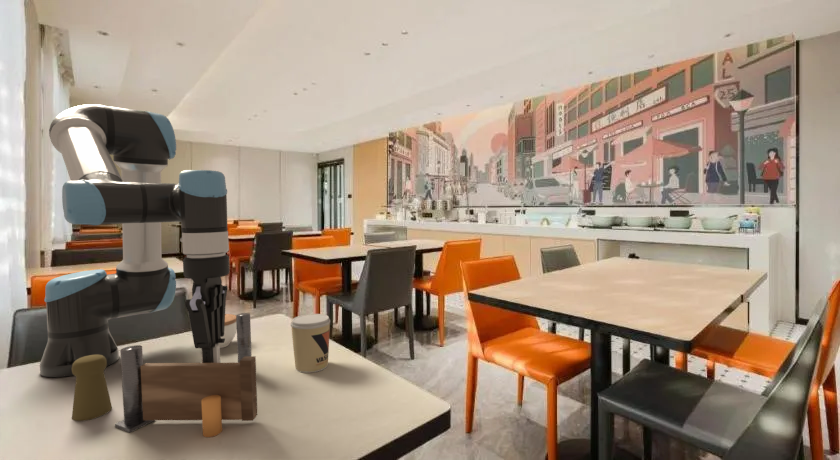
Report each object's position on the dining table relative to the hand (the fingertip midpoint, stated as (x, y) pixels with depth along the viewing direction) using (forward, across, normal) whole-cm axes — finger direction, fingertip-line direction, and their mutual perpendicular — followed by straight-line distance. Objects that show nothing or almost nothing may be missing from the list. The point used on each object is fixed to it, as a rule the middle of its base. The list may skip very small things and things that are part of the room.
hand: (211, 379), depth 75 cm
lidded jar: (+7, -40, -15) cm, 44 cm away
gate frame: (+7, -9, -7) cm, 13 cm away
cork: (+7, -4, -24) cm, 25 cm away
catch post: (+7, +6, +2) cm, 9 cm away
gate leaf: (+6, +3, -1) cm, 7 cm away
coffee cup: (+7, -22, +15) cm, 27 cm away
